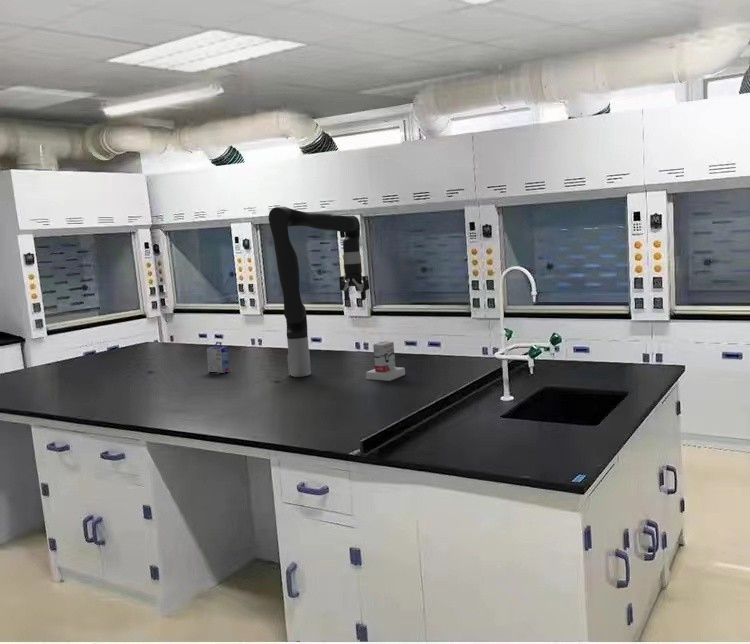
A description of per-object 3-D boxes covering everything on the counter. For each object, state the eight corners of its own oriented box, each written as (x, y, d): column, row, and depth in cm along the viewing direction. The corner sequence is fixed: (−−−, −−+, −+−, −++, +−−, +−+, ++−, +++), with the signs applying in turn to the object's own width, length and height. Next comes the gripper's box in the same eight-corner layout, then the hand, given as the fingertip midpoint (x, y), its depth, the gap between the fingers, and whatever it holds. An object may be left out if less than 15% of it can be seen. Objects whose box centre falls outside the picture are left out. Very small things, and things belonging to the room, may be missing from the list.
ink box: (383, 372, 308) (381, 344, 307) (374, 371, 311) (372, 344, 310) (396, 368, 315) (394, 341, 313) (386, 367, 318) (384, 340, 316)
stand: (366, 379, 312) (365, 372, 312) (382, 372, 322) (381, 366, 322) (389, 380, 305) (389, 373, 305) (405, 374, 315) (404, 367, 315)
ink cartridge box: (231, 371, 351) (228, 341, 349) (223, 374, 346) (220, 344, 344) (216, 370, 356) (213, 341, 354) (208, 373, 351) (205, 343, 349)
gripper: (371, 261, 313) (373, 299, 315) (344, 262, 321) (347, 298, 324) (360, 262, 307) (363, 301, 309) (334, 263, 315) (337, 301, 318)
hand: (355, 300), depth 317 cm, fingers open, 8 cm apart
